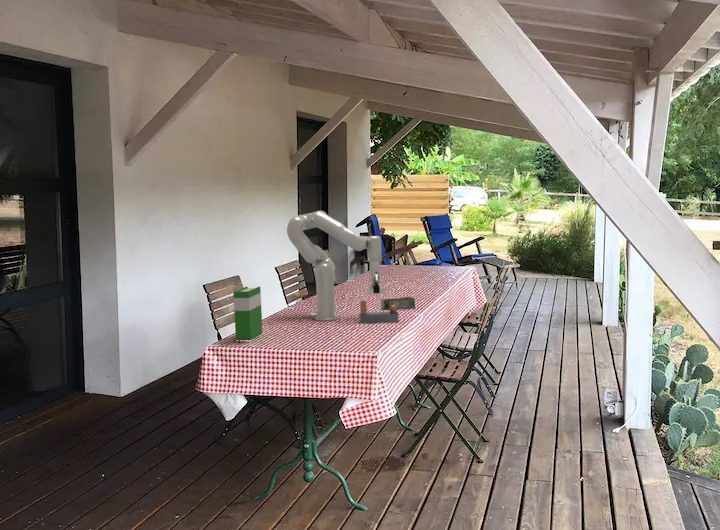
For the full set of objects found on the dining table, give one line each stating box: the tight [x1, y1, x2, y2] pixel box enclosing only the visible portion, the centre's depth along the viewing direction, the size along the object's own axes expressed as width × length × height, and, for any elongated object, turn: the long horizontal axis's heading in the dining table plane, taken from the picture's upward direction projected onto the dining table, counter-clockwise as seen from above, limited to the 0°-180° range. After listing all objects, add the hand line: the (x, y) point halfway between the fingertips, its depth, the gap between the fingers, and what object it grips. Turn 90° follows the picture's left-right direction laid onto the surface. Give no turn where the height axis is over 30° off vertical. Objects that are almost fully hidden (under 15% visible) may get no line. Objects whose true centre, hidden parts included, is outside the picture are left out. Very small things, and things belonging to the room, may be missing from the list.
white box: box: [365, 284, 387, 296], centre depth 386 cm, size 10×5×4 cm, turn 95°
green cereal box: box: [233, 286, 264, 341], centre depth 344 cm, size 18×7×24 cm, turn 170°
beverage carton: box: [380, 296, 416, 311], centre depth 417 cm, size 8×19×7 cm, turn 101°
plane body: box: [358, 300, 400, 324], centre depth 377 cm, size 20×7×12 cm, turn 95°
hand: (376, 292), depth 387 cm, fingers closed on white box, 5 cm apart
